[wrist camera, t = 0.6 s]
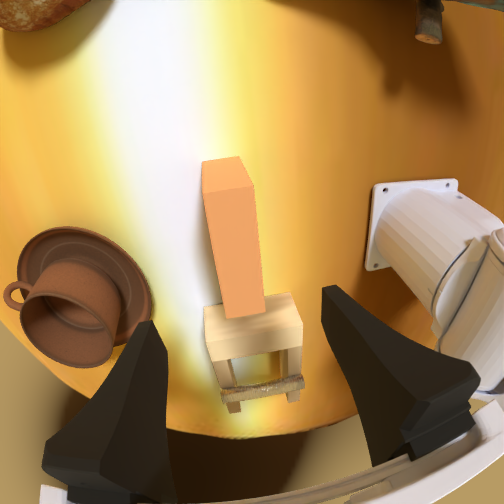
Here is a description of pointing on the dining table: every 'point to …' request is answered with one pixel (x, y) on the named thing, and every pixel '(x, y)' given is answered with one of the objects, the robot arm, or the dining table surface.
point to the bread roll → (35, 13)
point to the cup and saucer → (78, 295)
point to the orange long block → (234, 235)
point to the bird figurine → (431, 17)
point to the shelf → (256, 348)
